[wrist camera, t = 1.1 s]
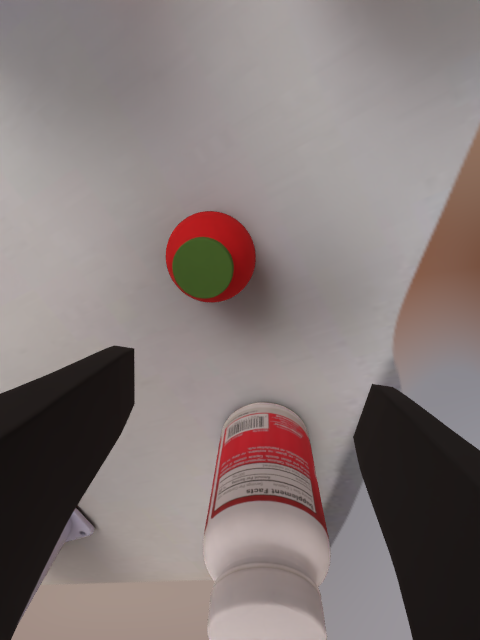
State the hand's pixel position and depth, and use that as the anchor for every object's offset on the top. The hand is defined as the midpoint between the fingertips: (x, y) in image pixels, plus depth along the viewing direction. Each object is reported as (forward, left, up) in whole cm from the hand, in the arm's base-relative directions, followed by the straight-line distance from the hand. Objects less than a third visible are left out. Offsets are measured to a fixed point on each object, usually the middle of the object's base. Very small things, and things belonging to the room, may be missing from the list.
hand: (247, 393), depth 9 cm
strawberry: (-1, +3, -10) cm, 10 cm away
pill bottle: (-4, -10, -10) cm, 14 cm away
